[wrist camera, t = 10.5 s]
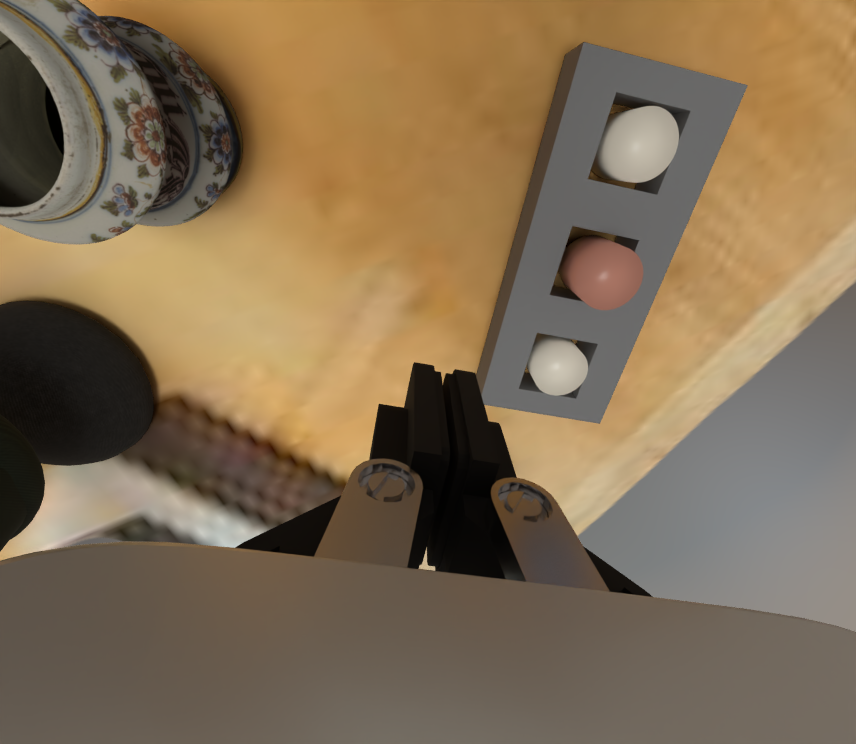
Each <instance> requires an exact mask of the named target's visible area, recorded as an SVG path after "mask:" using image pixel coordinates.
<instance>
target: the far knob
mask: <svg viewBox="0 0 856 744" xmlns="http://www.w3.org/2000/svg"><path fill="white" fill-rule="evenodd" d="M526 367H527V369H528V370H529V372H530V374H531V376H532V378H533V380H534V382H535V384H536V386H537V387H538V388H539V389H540V390H541V391H542V392H544V393H546V394H549V395H555V396H559V395H565V394H568V393H570V392H572V391H574V390H576V389H577V388H578V387H579V386H580V385H581V384H582V383H583V381H584V380H585V378H586V376H587V372H588V363H587V360H586V357H585V356H584V355H583V353H582V352H581V351H580V350H579V349H578V348H577V346H576V345H575V344H574V343H573V342H572V340H571V339H569V338H563V337H558V336H552V335H547V334H541V333H537V335H536V338H535V341H534V344H533V347H532V350H531V353H530V356H529V359H528V362H527V365H526Z"/></svg>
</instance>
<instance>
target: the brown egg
mask: <svg viewBox="0 0 856 744" xmlns="http://www.w3.org/2000/svg"><path fill="white" fill-rule="evenodd" d="M559 274H560V278H561V280H562V282H563V283H564V285H565V286H566V287H568V288H569V289H570V290H571V291H572V292H573V293H574V294H576V295H577V296H578V297H579V298H580V299H581V300H583V301H584V302H585V303H586V304H587V305H589V306H590V307H592V308H594V309H598V310H612V309H615V308H618V307H620V306H622V305H624V304H625V303H627V302H628V301H629V300H631V299H632V298H633V296H634V295H635V294H636V293H637V291H638V289H639V288H640V285H641V283H642V279H643V265H642V262H641V260H640V258H639V256H638V255H637V254H636V253H635V252H634V251H632V250H631V249H629V248H627V247H624V246H622V245H620V244H617V243H615V242H613V241H610V240H608V239H606V238H603V237H601V236H597V235H588V236H584V237H581V238H579V239H577V240H575V241H574V242H572V243H571V244H570V245H569V246H568V247H567V248H566V250H565V251H564V253H563V256H562V259H561V262H560V265H559Z"/></svg>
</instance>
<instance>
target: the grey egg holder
mask: <svg viewBox="0 0 856 744" xmlns="http://www.w3.org/2000/svg"><path fill="white" fill-rule="evenodd" d="M747 86H748V85H745V84H741V83H737V82H733V81H730V80H726V79H722V78H718V77H714V76H711V75H707V74H703V73H699V72H695V71H692V70H688V69H684V68H680V67H676V66H673V65H669V64H665V63H661V62H657V61H654V60H650V59H646V58H642V57H638V56H635V55H631V54H627V53H623V52H620V51H616V50H612V49H608V48H604V47H601V46H597V45H593V44H589V43H585V42H583V43H582V44H580V45H579V46H577V47H576V48H574V49H573V50H571V51H570V52H568V53H567V54H566V55H565V57H564V61H563V65H562V68H561V72H560V75H559V79H558V83H557V86H556V90H555V93H554V97H553V101H552V104H551V108H550V111H549V115H548V119H547V122H546V126H545V129H544V133H543V137H542V140H541V144H540V147H539V151H538V155H537V158H536V162H535V165H534V169H533V173H532V176H531V180H530V183H529V187H528V191H527V194H526V198H525V201H524V205H523V209H522V212H521V216H520V220H519V223H518V227H517V230H516V234H515V238H514V241H513V245H512V248H511V252H510V256H509V259H508V263H507V266H506V270H505V274H504V277H503V281H502V284H501V288H500V292H499V295H498V299H497V302H496V306H495V310H494V313H493V317H492V320H491V324H490V328H489V331H488V335H487V338H486V342H485V346H484V349H483V353H482V356H481V360H480V364H479V367H478V371H477V374H476V378H477V381H478V385H479V389H480V392H481V396H482V399H483V403H484V405H489V406H495V407H502V408H508V409H514V410H520V411H526V412H532V413H538V414H544V415H550V416H556V417H563V418H569V419H575V420H581V421H587V422H593V423H599V424H600V422H601V420H602V418H603V415H604V413H605V411H606V408H607V406H608V404H609V401H610V399H611V397H612V395H613V392H614V390H615V388H616V385H617V383H618V381H619V379H620V376H621V374H622V372H623V369H624V367H625V365H626V363H627V360H628V358H629V356H630V353H631V351H632V349H633V347H634V344H635V342H636V340H637V337H638V335H639V333H640V331H641V328H642V326H643V324H644V321H645V319H646V317H647V315H648V312H649V310H650V308H651V305H652V303H653V301H654V299H655V296H656V294H657V292H658V289H659V287H660V285H661V283H662V280H663V278H664V276H665V273H666V271H667V269H668V267H669V264H670V262H671V260H672V257H673V255H674V253H675V250H676V248H677V246H678V244H679V241H680V239H681V237H682V234H683V232H684V230H685V228H686V225H687V223H688V221H689V218H690V216H691V214H692V212H693V209H694V207H695V205H696V202H697V200H698V198H699V196H700V193H701V191H702V189H703V186H704V184H705V182H706V180H707V177H708V175H709V173H710V170H711V168H712V166H713V164H714V161H715V159H716V157H717V154H718V152H719V150H720V148H721V145H722V143H723V141H724V138H725V136H726V134H727V132H728V129H729V127H730V125H731V122H732V120H733V118H734V115H735V113H736V111H737V109H738V106H739V104H740V102H741V99H742V97H743V95H744V93H745V90H746V88H747ZM613 103H614V104H618V105H622V106H626V107H630V108H634V109H636V108H641V107H645V106H658V107H661V108H663V109H665V110H667V111H668V112H669V113H670V114H671V115H672V116H673V117H674V119H675V121H676V123H677V126H678V131H679V142H678V147H677V150H676V153H675V155H674V158H673V159H672V161H671V163H670V164H669V165H668V167H667V168H666V169H665V170H664V171H663V172H662V173H661V174H659V175H658V176H657V177H655V178H653V179H651V180H649V181H645V182H640V183H637V184H636V187H635V189H629V188H625V187H621V186H616V185H612V184H607V183H603V182H599V181H594V180H590V179H588V177H589V174H590V171H591V168H592V165H593V162H594V159H595V155H596V152H597V149H598V146H599V143H600V140H601V137H602V134H603V131H604V128H605V125H606V122H607V119H608V116H609V113H610V110H611V107H612V104H613ZM572 226H575V227H580V228H584V229H589V230H594V231H598V232H603V233H608V234H612V235H617V237H616V240H615V243H617V244H620V245H622V246H624V247H627V248H629V249H631V250H632V251H634V252H635V253H636V254H637V255H638V256H639V258H640V260H641V262H642V265H643V279H642V283H641V285H640V288H639V289H638V291H637V293H636V294H635V295H634V296H633V298H632V299H631V300H629V301H628V302H627V303H625V304H624V305H622V306H620V307H618V308H615V309H612V310H598V309H594V308H592V307H590V306H589V305H587V304H586V303H585V302H584V301H583V300H581V299H580V298H579V297H578V296H577V295H576V294H574V293H573V292H572V291H571V290H570V289H567V288H562V287H557V286H553V283H554V280H555V277H556V274H557V271H558V268H559V265H560V262H561V259H562V256H563V253H564V250H565V247H566V244H567V241H568V237H569V234H570V231H571V228H572ZM537 333H541V334H547V335H552V336H558V337H563V338H569V339H574V340H578V341H577V344H576V346H577V348H578V349H579V350H580V351H581V352H582V353H583V355H584V356H585V357H586V360H587V363H588V372H587V376H586V378H585V380H584V381H583V383H582V384H581V385H580V386H579V387H578V388H577V389H576V390H574V391H572V392H570V393H568V394H565V395H559V396H555V395H549V394H546V393H544V392H542V391H541V390H540V389H539V388H538V387H537V386H536V384H535V382H534V380H533V378H532V376H531V374H530V373H525V372H524V371H525V368H526V365H527V362H528V359H529V356H530V353H531V350H532V347H533V344H534V341H535V338H536V335H537Z"/></svg>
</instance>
